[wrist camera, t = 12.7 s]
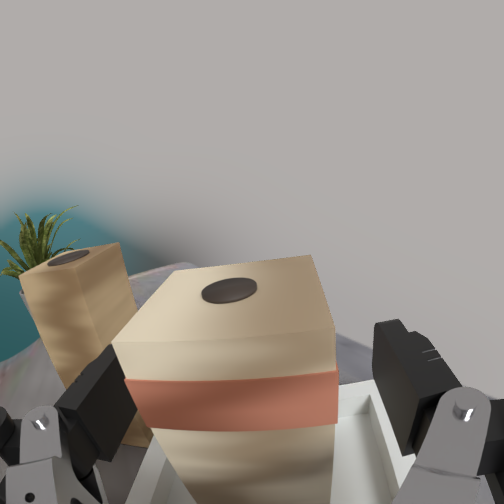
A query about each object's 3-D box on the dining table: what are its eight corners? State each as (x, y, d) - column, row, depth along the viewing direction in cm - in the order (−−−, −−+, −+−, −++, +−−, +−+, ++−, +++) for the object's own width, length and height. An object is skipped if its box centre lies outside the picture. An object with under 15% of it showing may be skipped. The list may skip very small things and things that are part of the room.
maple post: (220, 536, 9) (106, 338, 6) (232, 465, 13) (172, 268, 10) (327, 534, 8) (338, 323, 5) (321, 460, 12) (312, 251, 10)
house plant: (131, 307, 38) (101, 185, 34) (59, 362, 25) (8, 207, 21) (69, 302, 43) (43, 203, 38) (7, 341, 30) (-30, 226, 26)
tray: (122, 589, 5) (95, 577, 5) (181, 420, 18) (170, 395, 17) (432, 585, 4) (452, 575, 3) (380, 404, 16) (384, 377, 16)
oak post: (96, 438, 16) (17, 273, 13) (119, 399, 20) (63, 250, 17) (152, 448, 15) (74, 265, 12) (171, 403, 20) (118, 240, 16)
